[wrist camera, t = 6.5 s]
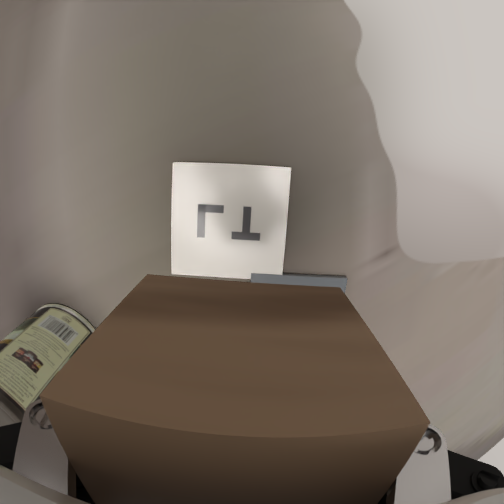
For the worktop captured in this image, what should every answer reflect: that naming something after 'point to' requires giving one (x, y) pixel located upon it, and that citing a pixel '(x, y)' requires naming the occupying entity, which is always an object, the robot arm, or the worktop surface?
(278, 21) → the worktop surface
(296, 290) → the walnut block
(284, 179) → the tile
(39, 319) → the coffee can
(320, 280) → the slate coaster
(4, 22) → the worktop surface
